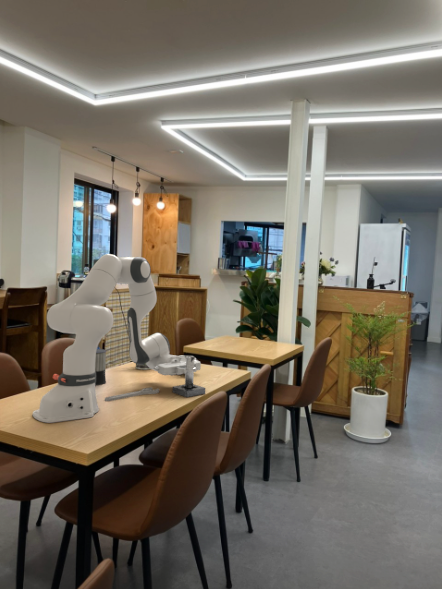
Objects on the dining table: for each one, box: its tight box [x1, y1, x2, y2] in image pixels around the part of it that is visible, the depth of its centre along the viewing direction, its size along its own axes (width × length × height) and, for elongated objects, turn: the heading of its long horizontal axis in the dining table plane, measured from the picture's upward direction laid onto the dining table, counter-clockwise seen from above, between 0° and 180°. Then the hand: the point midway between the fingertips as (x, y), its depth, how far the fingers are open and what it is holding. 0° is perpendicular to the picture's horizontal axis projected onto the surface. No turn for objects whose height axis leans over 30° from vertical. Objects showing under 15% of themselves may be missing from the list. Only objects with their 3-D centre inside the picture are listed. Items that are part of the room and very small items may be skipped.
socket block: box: [171, 383, 206, 398], centre depth 197 cm, size 10×10×2 cm
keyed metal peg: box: [184, 355, 196, 388], centre depth 197 cm, size 4×5×13 cm
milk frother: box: [95, 348, 107, 386], centre depth 211 cm, size 14×16×15 cm
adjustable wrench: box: [104, 387, 160, 402], centre depth 191 cm, size 25×6×2 cm, turn 130°
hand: (190, 370), depth 197 cm, fingers closed on keyed metal peg, 3 cm apart
